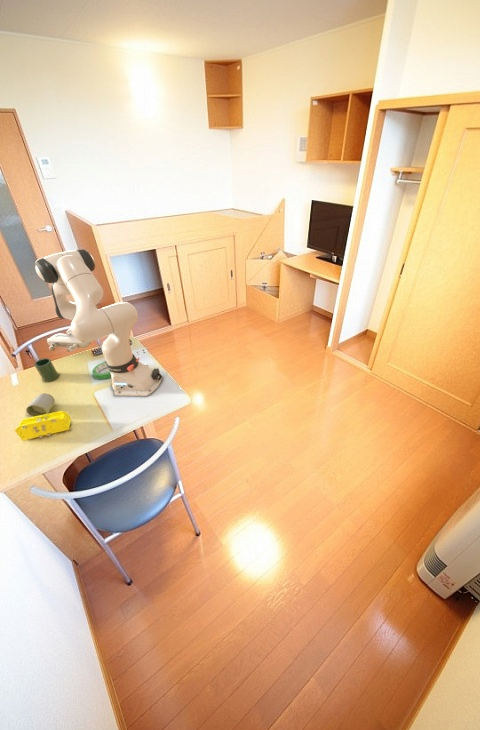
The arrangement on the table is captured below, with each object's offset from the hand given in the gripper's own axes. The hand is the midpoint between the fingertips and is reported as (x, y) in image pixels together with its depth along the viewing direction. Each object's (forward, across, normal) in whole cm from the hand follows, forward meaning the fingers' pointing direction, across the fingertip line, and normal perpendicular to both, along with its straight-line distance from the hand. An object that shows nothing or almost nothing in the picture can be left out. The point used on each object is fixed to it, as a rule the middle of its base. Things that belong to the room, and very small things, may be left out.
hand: (59, 350), depth 147 cm
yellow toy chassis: (+42, +20, +8) cm, 48 cm away
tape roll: (+6, +25, +8) cm, 27 cm away
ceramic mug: (+33, +11, +8) cm, 36 cm away
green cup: (+12, 0, +8) cm, 14 cm away
